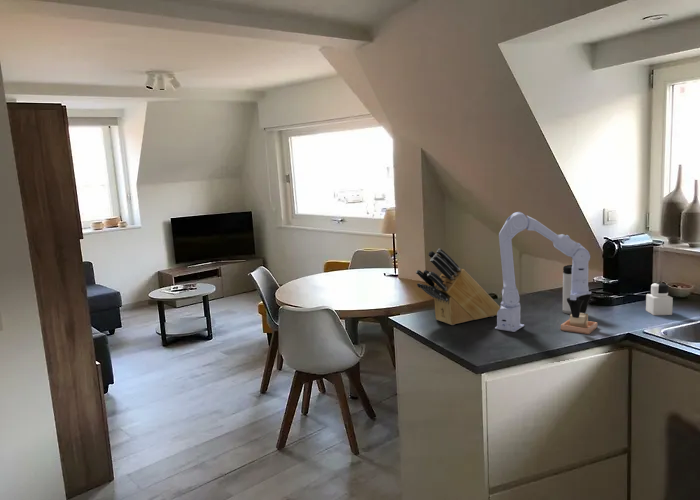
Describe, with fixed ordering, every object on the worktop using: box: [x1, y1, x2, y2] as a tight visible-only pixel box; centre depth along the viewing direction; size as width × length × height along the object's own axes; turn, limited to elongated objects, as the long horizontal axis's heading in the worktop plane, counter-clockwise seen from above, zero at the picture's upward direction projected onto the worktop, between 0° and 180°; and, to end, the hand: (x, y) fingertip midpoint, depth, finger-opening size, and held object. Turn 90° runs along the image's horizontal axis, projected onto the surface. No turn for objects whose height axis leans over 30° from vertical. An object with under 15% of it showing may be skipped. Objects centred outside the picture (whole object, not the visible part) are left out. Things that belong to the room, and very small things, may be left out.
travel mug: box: [562, 264, 572, 315], centre depth 224 cm, size 6×7×20 cm
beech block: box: [569, 313, 589, 328], centre depth 203 cm, size 5×5×5 cm
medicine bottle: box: [645, 282, 674, 316], centre depth 217 cm, size 7×7×12 cm
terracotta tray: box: [560, 318, 598, 335], centre depth 203 cm, size 10×10×2 cm
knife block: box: [415, 248, 501, 326], centre depth 220 cm, size 11×35×31 cm, turn 117°
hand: (579, 315), depth 202 cm, fingers open, 7 cm apart
